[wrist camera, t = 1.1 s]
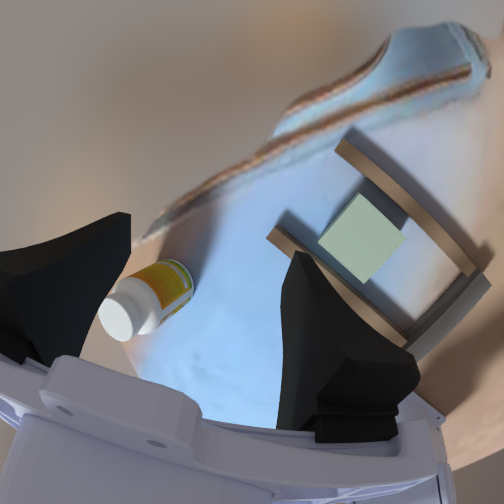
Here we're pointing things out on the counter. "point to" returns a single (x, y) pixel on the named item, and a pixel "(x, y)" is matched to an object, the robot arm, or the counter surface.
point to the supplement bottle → (146, 299)
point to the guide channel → (472, 279)
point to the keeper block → (361, 238)
